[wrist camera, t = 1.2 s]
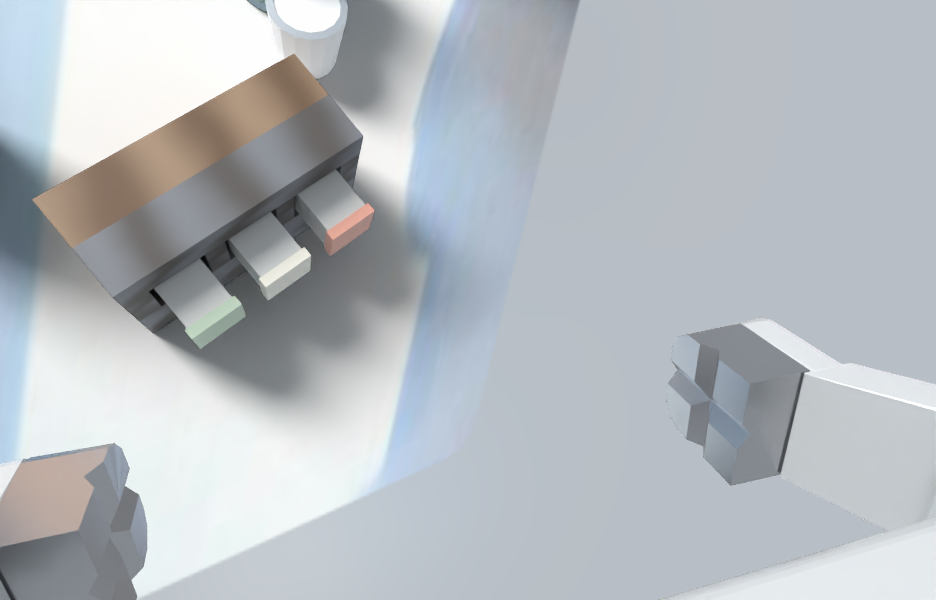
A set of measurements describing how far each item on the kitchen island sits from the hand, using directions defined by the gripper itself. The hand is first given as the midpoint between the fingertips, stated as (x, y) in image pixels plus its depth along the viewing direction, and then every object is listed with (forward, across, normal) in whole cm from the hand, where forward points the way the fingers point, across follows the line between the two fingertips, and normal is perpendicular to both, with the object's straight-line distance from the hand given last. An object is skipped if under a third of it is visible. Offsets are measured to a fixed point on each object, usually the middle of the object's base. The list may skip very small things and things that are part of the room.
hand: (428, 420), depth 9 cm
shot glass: (+58, +1, +1) cm, 58 cm away
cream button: (+41, -4, -13) cm, 43 cm away
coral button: (+43, +1, -11) cm, 44 cm away
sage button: (+38, -10, -15) cm, 42 cm away
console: (+48, -8, -12) cm, 50 cm away
